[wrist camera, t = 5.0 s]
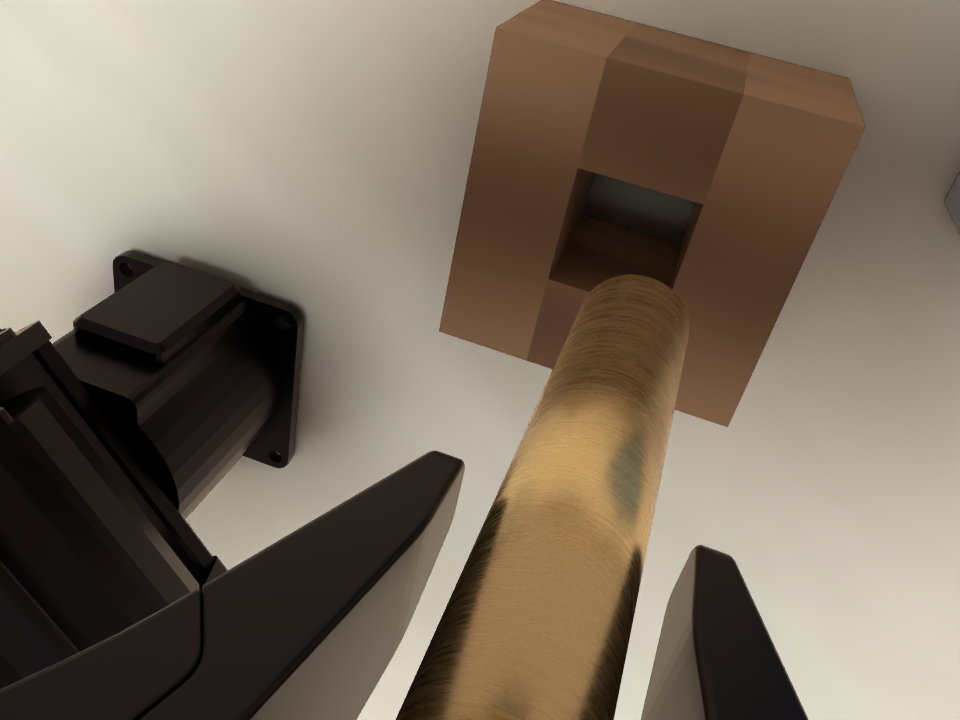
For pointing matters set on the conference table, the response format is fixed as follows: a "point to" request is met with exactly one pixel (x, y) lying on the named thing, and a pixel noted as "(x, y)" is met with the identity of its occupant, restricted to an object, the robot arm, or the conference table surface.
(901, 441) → the conference table surface
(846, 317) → the conference table surface
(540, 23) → the pin block
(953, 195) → the tray
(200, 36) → the conference table surface
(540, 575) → the brass pin
